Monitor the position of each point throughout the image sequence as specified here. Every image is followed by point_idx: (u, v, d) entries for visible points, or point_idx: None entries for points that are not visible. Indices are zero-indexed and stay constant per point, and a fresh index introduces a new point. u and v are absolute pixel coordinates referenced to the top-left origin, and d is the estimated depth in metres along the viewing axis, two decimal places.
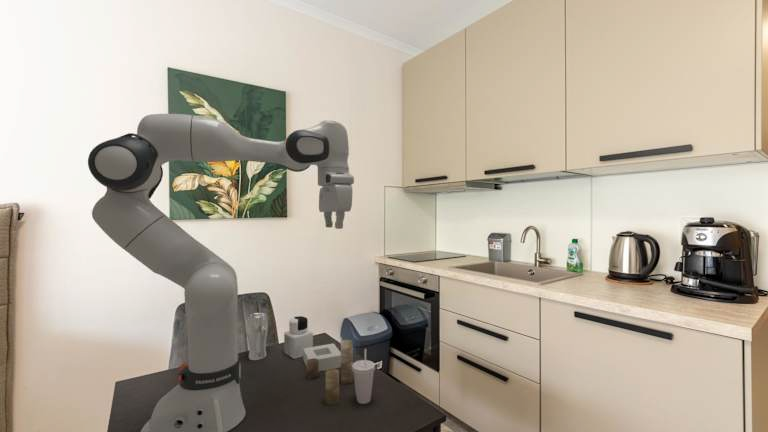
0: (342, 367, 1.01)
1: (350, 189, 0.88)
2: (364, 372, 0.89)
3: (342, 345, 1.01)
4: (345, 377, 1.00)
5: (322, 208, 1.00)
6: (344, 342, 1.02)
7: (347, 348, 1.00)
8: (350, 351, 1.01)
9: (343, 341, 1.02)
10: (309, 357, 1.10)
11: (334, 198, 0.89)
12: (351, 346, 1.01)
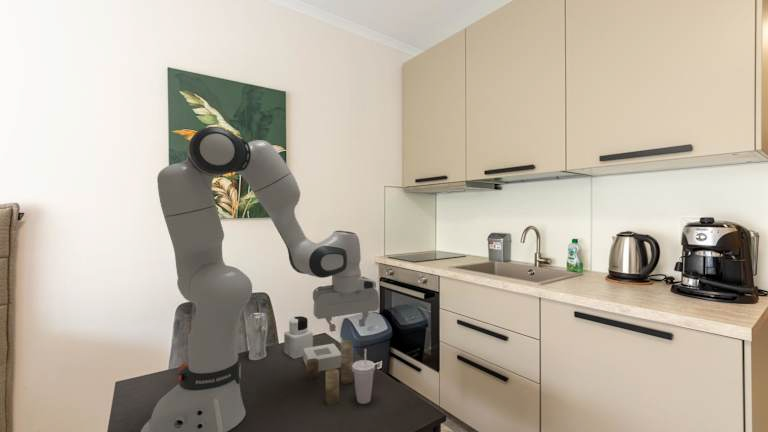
0: (342, 367, 1.01)
1: None
2: (364, 372, 0.89)
3: (342, 345, 1.01)
4: (345, 377, 1.00)
5: (330, 314, 0.98)
6: (344, 342, 1.02)
7: (347, 348, 1.00)
8: (350, 351, 1.01)
9: (343, 341, 1.02)
10: (309, 357, 1.10)
11: (369, 300, 1.03)
12: (351, 346, 1.01)
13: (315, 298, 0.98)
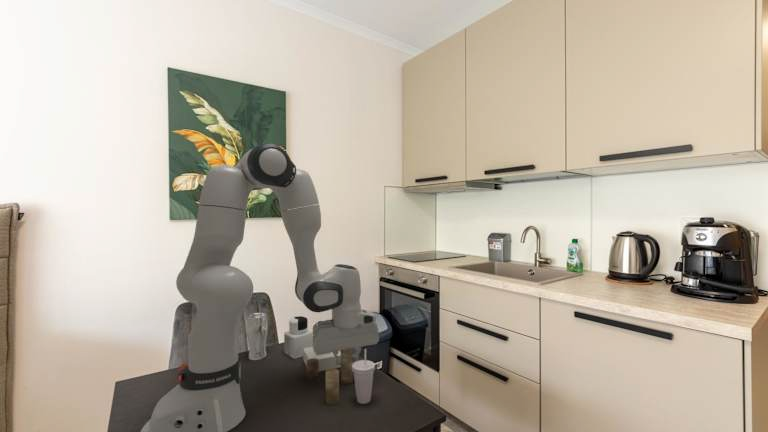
0: (342, 367, 1.01)
1: None
2: (364, 372, 0.89)
3: None
4: (345, 376, 1.00)
5: (330, 349, 0.98)
6: None
7: (347, 348, 1.00)
8: (350, 351, 1.01)
9: None
10: (309, 357, 1.10)
11: (368, 334, 1.03)
12: None
13: (315, 333, 0.98)
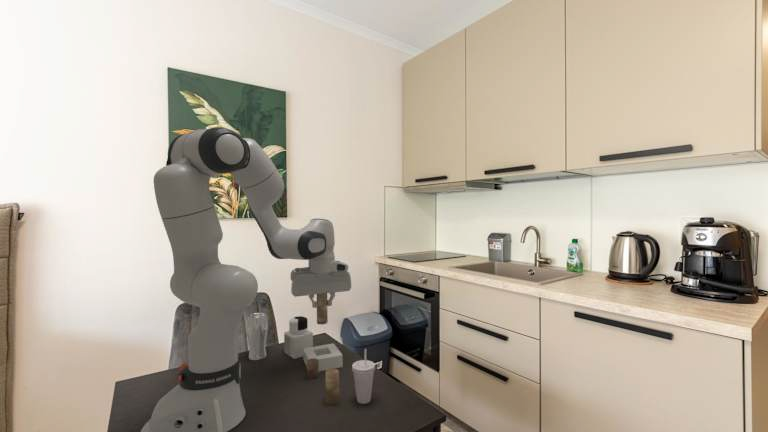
0: (317, 310, 1.13)
1: None
2: (364, 372, 0.89)
3: None
4: (320, 318, 1.13)
5: (306, 293, 1.10)
6: None
7: (322, 293, 1.12)
8: (324, 295, 1.13)
9: None
10: (309, 357, 1.10)
11: (342, 281, 1.15)
12: None
13: (292, 278, 1.10)
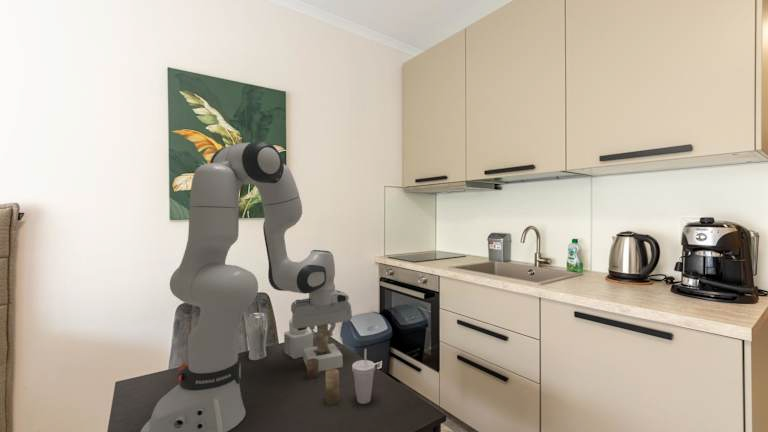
0: (318, 341, 1.13)
1: None
2: (364, 372, 0.89)
3: None
4: (320, 349, 1.13)
5: (306, 325, 1.10)
6: None
7: None
8: (325, 326, 1.13)
9: None
10: (309, 357, 1.10)
11: (342, 312, 1.15)
12: None
13: (293, 310, 1.10)
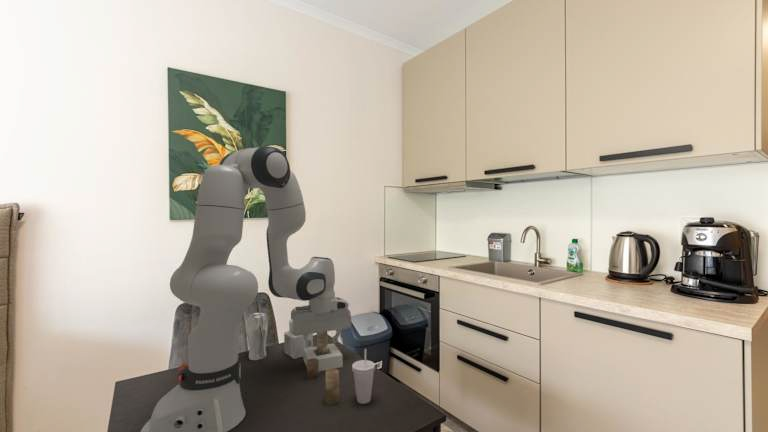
0: (317, 351, 1.13)
1: None
2: (364, 372, 0.89)
3: None
4: None
5: (306, 332, 1.10)
6: None
7: (322, 334, 1.13)
8: (324, 337, 1.13)
9: None
10: (309, 357, 1.10)
11: (342, 319, 1.15)
12: (326, 332, 1.13)
13: (293, 317, 1.10)
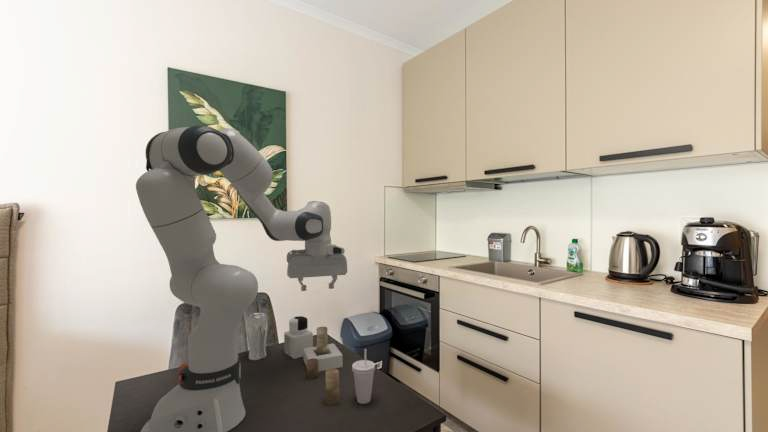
0: (317, 351, 1.13)
1: None
2: (364, 372, 0.89)
3: (317, 331, 1.13)
4: None
5: (301, 275, 1.10)
6: (319, 328, 1.14)
7: (322, 334, 1.13)
8: (324, 337, 1.13)
9: (319, 328, 1.15)
10: (309, 357, 1.10)
11: (338, 265, 1.15)
12: (326, 332, 1.13)
13: (288, 260, 1.10)
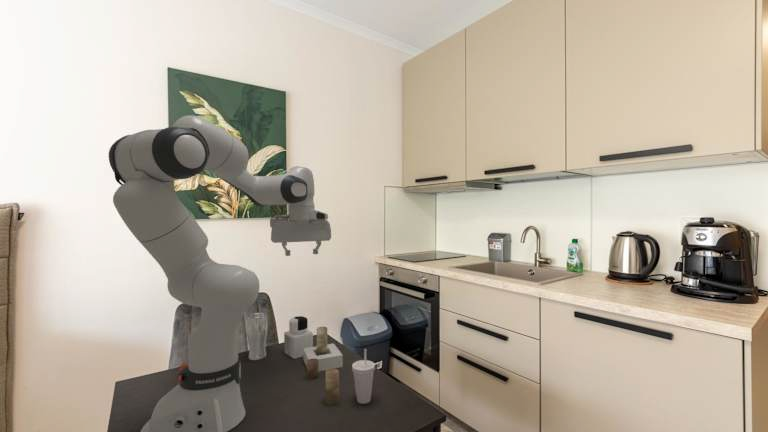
0: (317, 351, 1.13)
1: None
2: (364, 372, 0.89)
3: (317, 331, 1.13)
4: None
5: (285, 239, 1.11)
6: (319, 328, 1.14)
7: (322, 334, 1.13)
8: (324, 337, 1.13)
9: (319, 328, 1.14)
10: (309, 357, 1.10)
11: (321, 230, 1.16)
12: (326, 332, 1.13)
13: (272, 224, 1.11)
